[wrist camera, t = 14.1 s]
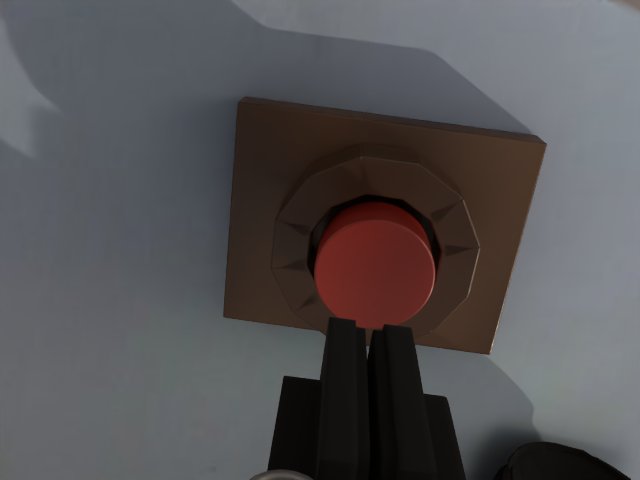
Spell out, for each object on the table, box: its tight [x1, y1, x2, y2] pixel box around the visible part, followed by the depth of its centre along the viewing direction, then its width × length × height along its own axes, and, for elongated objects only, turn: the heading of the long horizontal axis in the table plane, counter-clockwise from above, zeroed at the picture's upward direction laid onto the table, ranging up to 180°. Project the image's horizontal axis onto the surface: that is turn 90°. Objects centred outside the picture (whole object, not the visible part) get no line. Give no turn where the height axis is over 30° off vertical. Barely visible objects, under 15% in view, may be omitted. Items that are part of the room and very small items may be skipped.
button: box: [314, 201, 435, 329], centre depth 19 cm, size 4×4×2 cm
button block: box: [223, 97, 547, 355], centre depth 21 cm, size 10×8×3 cm
